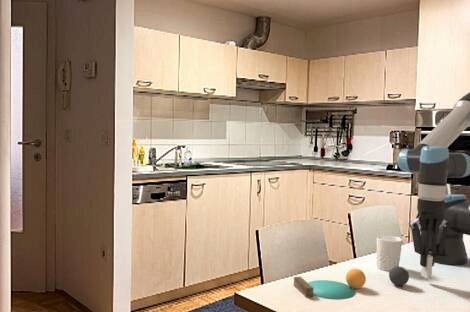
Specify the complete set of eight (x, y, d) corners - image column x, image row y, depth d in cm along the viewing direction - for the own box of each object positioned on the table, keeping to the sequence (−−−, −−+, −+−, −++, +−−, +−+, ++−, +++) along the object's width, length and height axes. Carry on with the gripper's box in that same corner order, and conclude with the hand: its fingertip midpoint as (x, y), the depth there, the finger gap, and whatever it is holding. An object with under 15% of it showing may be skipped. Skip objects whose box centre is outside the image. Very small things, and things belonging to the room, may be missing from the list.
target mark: (340, 279, 136) (340, 279, 136) (364, 297, 123) (364, 296, 123) (297, 282, 133) (297, 281, 133) (316, 300, 120) (316, 299, 120)
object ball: (359, 284, 133) (360, 265, 133) (368, 290, 128) (369, 271, 128) (341, 285, 132) (342, 266, 132) (351, 291, 127) (352, 272, 126)
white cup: (402, 273, 145) (403, 242, 144) (376, 270, 146) (378, 240, 146) (398, 265, 152) (400, 236, 152) (373, 263, 154) (375, 234, 153)
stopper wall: (300, 285, 131) (300, 276, 130) (312, 296, 122) (313, 287, 122) (293, 285, 130) (294, 277, 130) (306, 297, 121) (306, 288, 121)
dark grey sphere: (401, 281, 137) (402, 263, 136) (412, 288, 131) (413, 269, 131) (384, 282, 135) (385, 264, 135) (395, 289, 130) (396, 270, 130)
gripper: (441, 196, 139) (436, 271, 141) (404, 196, 136) (399, 273, 137) (459, 200, 132) (453, 280, 133) (420, 200, 129) (415, 282, 130)
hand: (426, 276), depth 135 cm, fingers closed
